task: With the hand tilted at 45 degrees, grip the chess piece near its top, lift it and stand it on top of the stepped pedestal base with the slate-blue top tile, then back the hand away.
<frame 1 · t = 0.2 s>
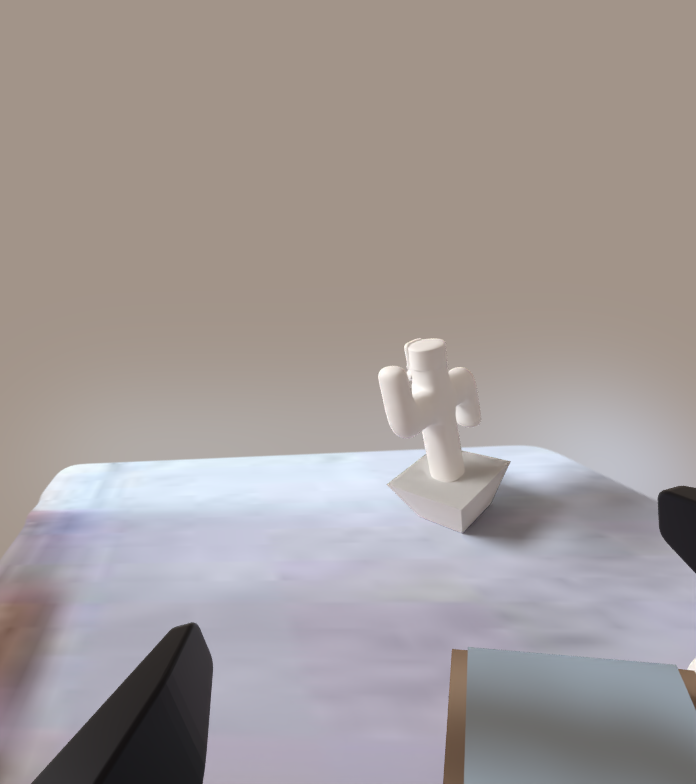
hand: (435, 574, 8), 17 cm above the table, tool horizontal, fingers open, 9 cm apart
figurine: (454, 512, 36), on the table
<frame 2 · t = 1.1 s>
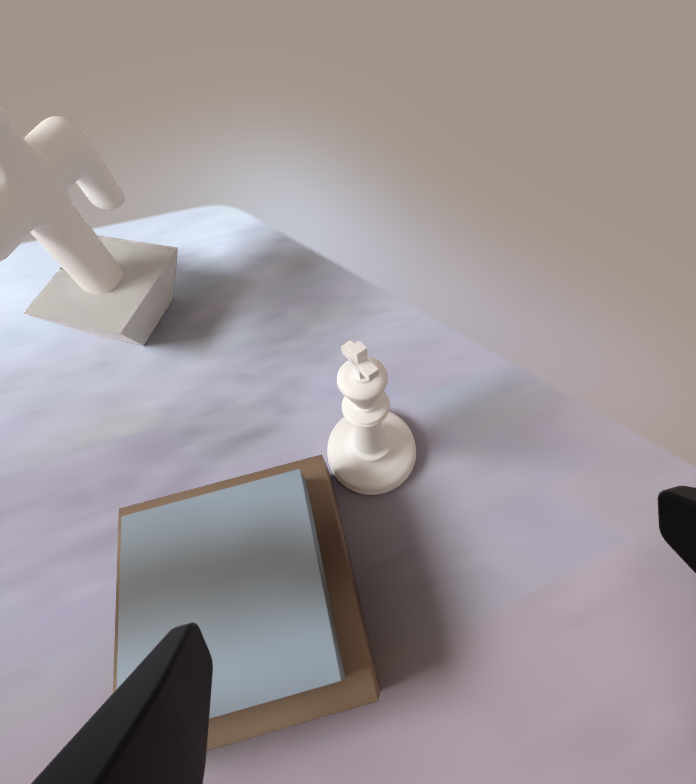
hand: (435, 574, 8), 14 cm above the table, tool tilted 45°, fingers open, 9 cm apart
stepped pedestal base: (252, 597, 21), on the table
figurine: (134, 318, 31), on the table
chess piece: (371, 452, 24), on the table
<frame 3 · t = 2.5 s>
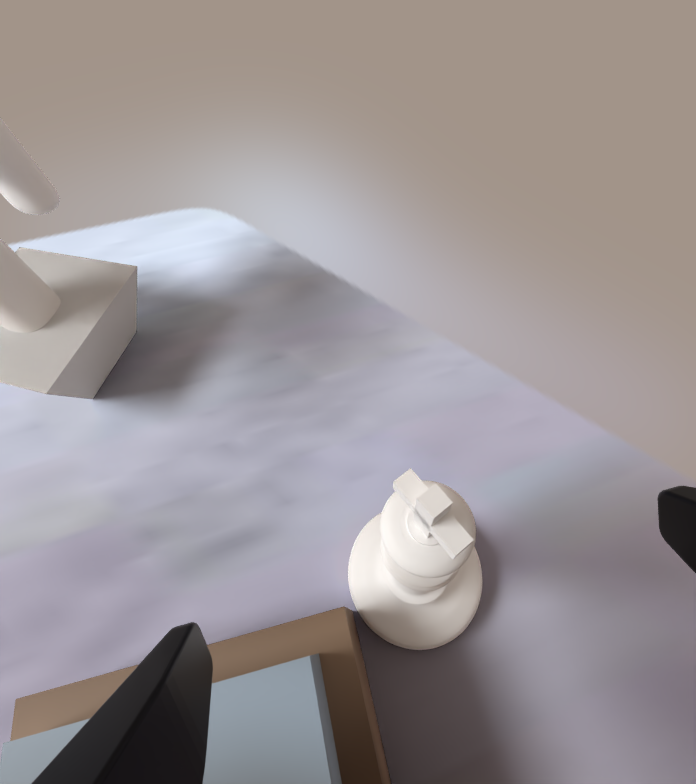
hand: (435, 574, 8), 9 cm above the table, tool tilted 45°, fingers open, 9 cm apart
figurine: (84, 358, 23), on the table
chess piece: (413, 573, 16), on the table
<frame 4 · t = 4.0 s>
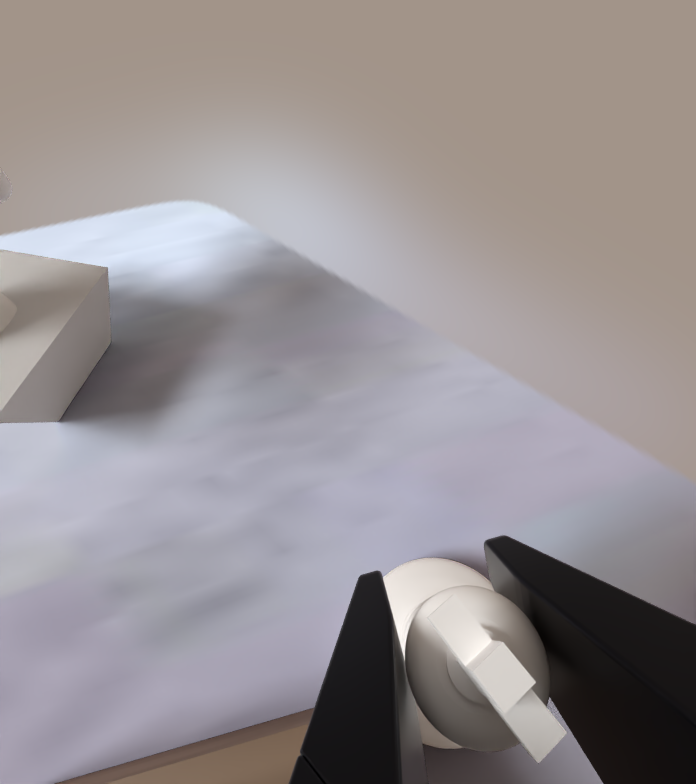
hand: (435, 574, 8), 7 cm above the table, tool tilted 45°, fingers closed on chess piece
figurine: (50, 373, 20), on the table
chess piece: (437, 643, 13), on the table, touching gripper
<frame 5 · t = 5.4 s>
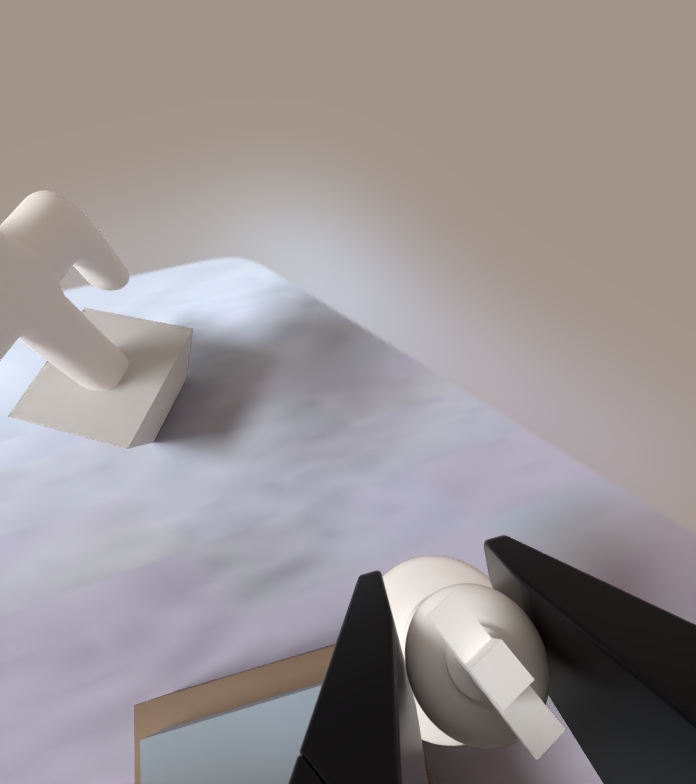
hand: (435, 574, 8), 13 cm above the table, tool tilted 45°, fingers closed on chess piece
figurine: (141, 403, 26), on the table
chess piece: (438, 641, 13), point 6 cm above the table, touching gripper
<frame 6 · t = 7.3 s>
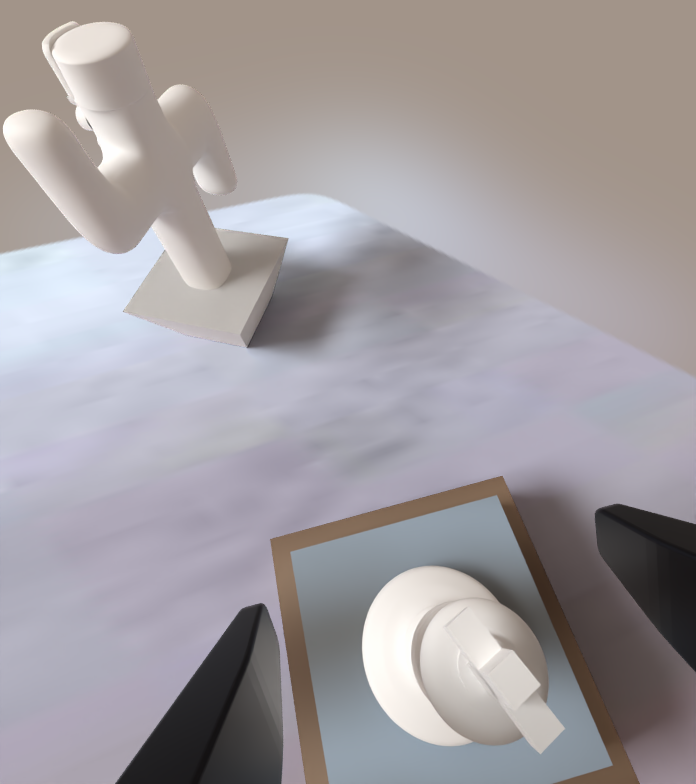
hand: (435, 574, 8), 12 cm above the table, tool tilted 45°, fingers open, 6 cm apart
stepped pedestal base: (422, 640, 18), on the table
figurine: (230, 316, 28), on the table
chess piece: (437, 647, 14), point 4 cm above the table, touching stepped pedestal base
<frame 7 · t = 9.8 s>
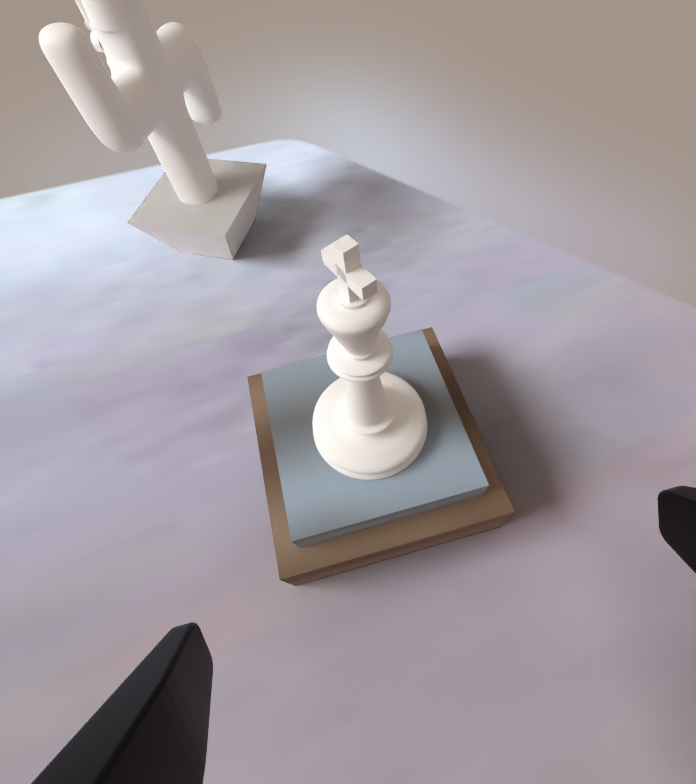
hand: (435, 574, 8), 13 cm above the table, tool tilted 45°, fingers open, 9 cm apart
stepped pedestal base: (369, 458, 22), on the table
figurine: (219, 237, 32), on the table
chess piece: (369, 426, 19), point 4 cm above the table, touching stepped pedestal base
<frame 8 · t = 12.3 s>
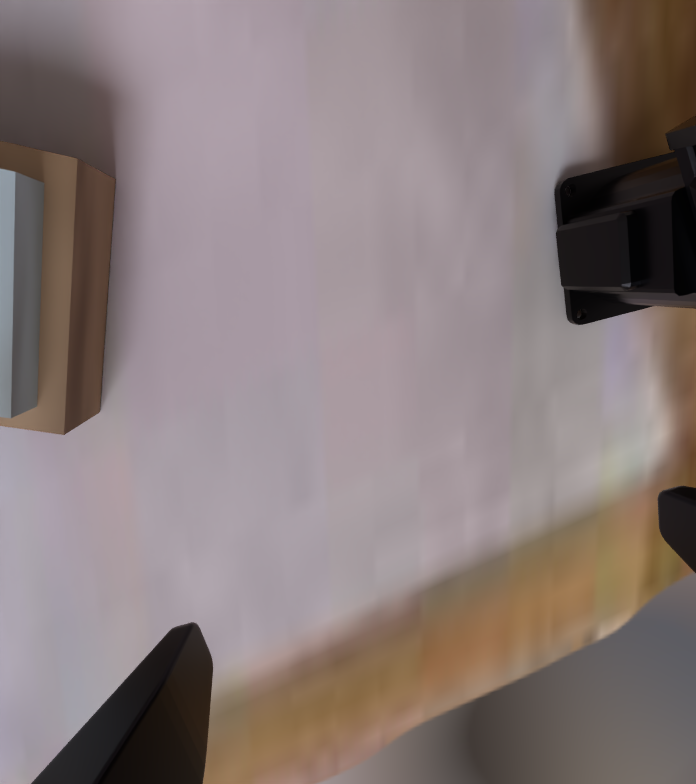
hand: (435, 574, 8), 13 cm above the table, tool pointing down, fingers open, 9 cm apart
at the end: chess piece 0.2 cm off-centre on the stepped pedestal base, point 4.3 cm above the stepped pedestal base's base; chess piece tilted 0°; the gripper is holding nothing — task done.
